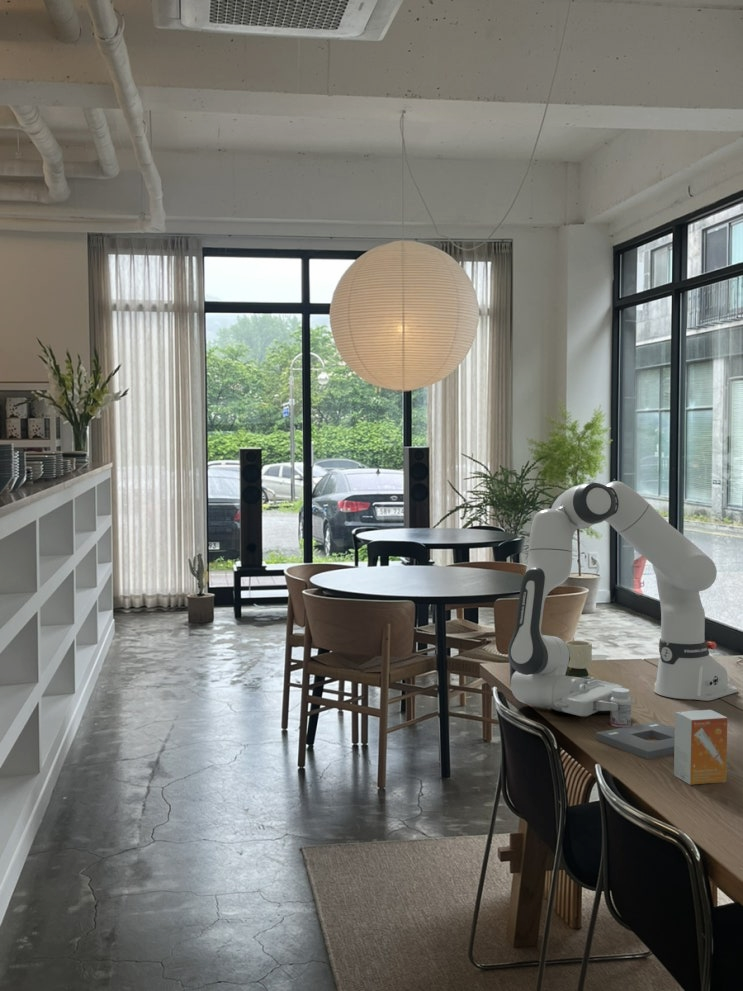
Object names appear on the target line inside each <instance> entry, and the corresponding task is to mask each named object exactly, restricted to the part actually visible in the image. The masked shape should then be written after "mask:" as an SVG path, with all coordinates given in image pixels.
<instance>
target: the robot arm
mask: <svg viewBox="0 0 743 991" xmlns="http://www.w3.org/2000/svg"><path fill="white" fill-rule="evenodd" d="M604 521H605V522H606V523H608V524H609V525H610V526H611V527H612V529H614V530H615V532H617V533H618V534H619V535H620V536H621V538H623V539H624V540H625V541H626V542H627V544H629V546H630V547H632V548H633V549H634V550H635V551H636V552H637V553H638V554H639V555H641V556H642V557H644V558H645V560H647V562H649V563H650V564H652V569H653V572H654V574H655V578H656V586H657V592H658V597H659V604H660V614H661V616H660V638H659V642H658V651H659V652H658V653H659V655H660V657H659V658H658V663H657V664H658V666H657V671H656V672H657V673H656V681H655V682H654V685H653V686H654V689H653V692H654V693H656V694H658V695H660V696H663V697H667V698H672V699H678V700H698V701H713V700H716V699H719V698H723V697H726V696H729V695H732V694H735V693H738V688H737V686H734V685H732V684H729V677H728V671H727V669H726V667H724V666H723V664H721V663H720V662H718V660H716V659H715V658H713V656H711V655H710V654H711V653H710V650H712V651H714V650H717V649H716V648H717V645H718V644H717V643H716V642H715V641H709V640H708V641H707V642H706V640H705V631H706V630H705V628H706V627H705V626H706V622H705V621H706V619H705V618H706V613H705V609H704V607H703V604H702V600H701V595H700V592H702V591H705V590H707V589H709V588H711V587H712V586H713V584H714V583H715V581H716V580H717V574H718V570H717V566H716V564H715V562H714V561H713V560H712V559H711V558H710V557H709V556H708V555H707V554H706V553H705V552H703V550H701V549H700V548H699V547H698V546H697V545H696V544H695V543H693V542H692V541H691V540H690V539H688V537H686V536H685V535H684V534H683V533H682V532H680V531H679V530H678V529H677V528H675V527H674V526H673V525H671V524H670V523H669V522H668V521H667V519H665V518H664V517H663V516H662V515H661V514H660V513H659V512H658V511H657V510H656V509H655V508H654V507H653V506H652V505H651V504H650V503H649V502H648V501H647V500H646V499H645V498H644V497H642V496H641V495H640V494H639V493H638V492H637V491H635V489H633V488H632V487H630V486H629V485H627V484H626V483H624V482H622V481H619V480H615V481H611V482H608V483H606V484H602V483H600V482H594V481H593V482H591V481H590V482H585V483H583V484H578V485H575V486H572V487H570V488H568V489H567V490H565V491H562V492H560V493H559V494H558V495H556V496H555V497H554V498H553V500H552V501H551V503H550V506H548V508H545V509H542V510H540V511H538V512H536V513H535V515H534V517H533V519H532V523H531V528H530V532H529V539H528V540H529V541H528V553H527V555H528V558H527V564H526V569H525V573H524V575H523V577H522V580H521V585H520V590H519V597H518V598H519V599H518V604H517V611H516V618H515V620H516V621H515V627H514V630H513V631H514V632H513V634H512V637H511V639H510V641H509V644H508V648H507V658H508V660H509V664H510V663H511V665H512V667H513V668H514V669H515V670H516V672H515V673H514V674H513V675H512V678H511V683H510V688H511V692H512V695H513V696H514V698H515V699H517V700H518V702H520V703H523V704H526V705H528V706H531V707H532V706H533V707H536V708H540V709H549V708H550V709H552V710H554V711H556V712H561V713H566V714H570V715H575V716H579V717H588V716H590V715H592V714H595V713H598V712H601V711H602V712H603V711H604V712H605V711H609V712H610V711H617V710H619V708H620V707H619V706H620V704H619V703H617V702H611V697H613V696H612V689H614V688H625V687H624V686H622V685H620V684H618V683H614V682H610V681H605V680H600V679H596V680H595V677H593V676H589V675H588V676H587V677H573V676H572V677H571V676H568V675H566V672H567V668H568V664H569V659H570V652H569V648H568V646H567V644H566V643H565V642H566V641H565V640H564V639H562V638H561V637H559V636H555V635H554V636H553V635H548V634H546V635H545V634H543V633H542V623H543V614H544V608H545V607H544V606H545V601H546V598H547V597H548V594H550V593H551V591H553V590H554V589H555V588H557V587H559V586H561V585H562V584H564V582H566V581H567V580H568V579H569V577H570V574H571V571H572V565H573V539H574V536H575V532H576V531H577V530H581V529H583V530H584V529H586V528H590V527H592V526H593V525H596V524H600V523H603V522H604ZM629 698H630V699H631V700H632V698H631V697H630V696H629Z"/></svg>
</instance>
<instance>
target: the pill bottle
mask: <svg viewBox="0 0 743 991" xmlns="http://www.w3.org/2000/svg"><path fill="white" fill-rule="evenodd" d="M630 695H631V693H630V690H629V689H628V688H625V687H624V688H614V689H612V696H613V697H611V702H617V703H619V704H620V706H619V707H620V708H619V710H617V711H610V710H609V712H610V720H609V721H610V725H611V726H612V727H616V728H623V727H629V726H632V725H631V724H632V698H631V697H630ZM629 697H630V698H631V699H630V698H629Z"/></svg>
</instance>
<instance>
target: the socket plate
mask: <svg viewBox="0 0 743 991" xmlns="http://www.w3.org/2000/svg"><path fill="white" fill-rule="evenodd" d="M595 735H596V736H595V740H596V741H599V742H601V743H604V744H607V745H609V746H612V747H613V748H617V749H620V750H622V751H625V752H627V753H630V754H633V755H636V756H638V757H641V758H643V759H645V760H651V759H655V758H656V759H657V758H662V757H666V756H671V755H674V747H675V727H673V726H670V725H666V724H664V723H661V722H658V721H650V722H646V723H640V724H639V723H638V724H635V725H631V726H629V727H617V728H614V729H609V730H603V731H598V732H596V733H595ZM648 738H654V739H656V740H655V741H650V740H647V739H648Z"/></svg>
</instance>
